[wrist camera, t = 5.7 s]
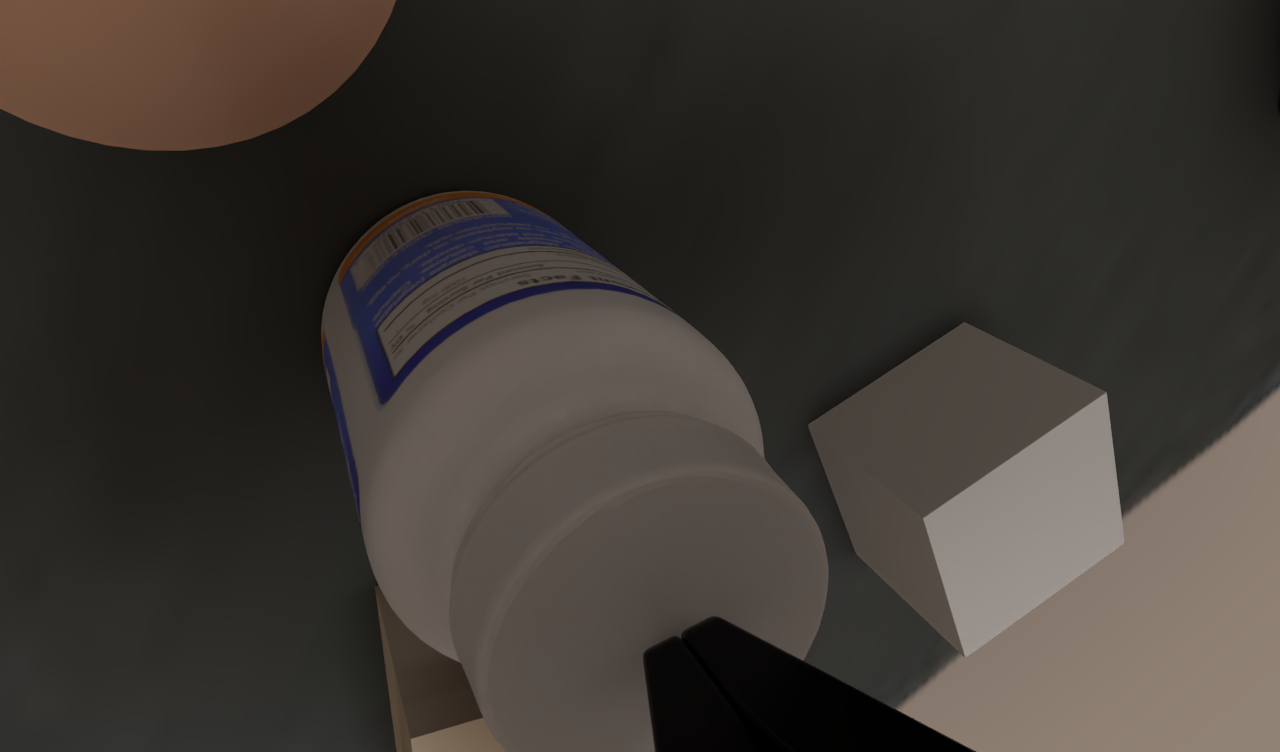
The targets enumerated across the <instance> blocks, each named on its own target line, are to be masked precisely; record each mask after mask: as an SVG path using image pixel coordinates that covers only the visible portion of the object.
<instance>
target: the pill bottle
mask: <svg viewBox="0 0 1280 752" xmlns="http://www.w3.org/2000/svg"><path fill="white" fill-rule="evenodd" d="M321 341H322V356H323V364H324V370H325V374H326V379H327V383H328V386H329V390H330V394H331V399H332V403H333V407H334V411H335V415H336V420H337V424H338V428H339V433H340V437H341V442H342V446H343V451H344V456H345V460H346V464H347V469H348V474H349V478H350V482H351V487H352V491H353V495H354V500H355V505H356V509H357V513H358V518H359V522H360V527H361V531H362V535H363V539H364V543H365V547H366V551H367V555H368V558H369V561H370V564H371V568H372V571H373V573H374V576H375V578H376V580H377V583H378V585H379V587H380V589H381V591H382V593H383V595H384V596H385V598H386V600H387V602H388V604H389V605H390V607H391V608H392V610H393V611H394V612H395V614H396V615H397V616H398V617H399V618H400V619H401V621H402V622H403V623H404V624H405V625H406V627H407V628H408V629H410V630H411V631H412V632H413V633H414V634H415V635H416V636H417V637H418V638H419V639H420V640H422V641H423V642H425V643H426V644H427V645H429V646H430V647H432V648H434V649H435V650H437V651H438V652H440V653H442V654H443V655H445V656H447V657H449V658H451V659H454V660H456V661H458V662H460V663H461V664H462V666H463V669H464V671H465V674H466V676H467V678H468V681H469V683H470V686H471V688H472V691H473V693H474V696H475V699H476V701H477V704H478V706H479V709H480V712H481V714H482V716H483V718H484V719H485V721H486V723H487V725H488V727H489V729H490V730H491V732H492V734H493V736H494V737H495V739H496V740H497V741H498V742H499V743H500V745H501V746H502V747H503V748H504V749H505V750H506V751H507V752H655V749H654V741H653V734H652V726H651V718H650V711H649V703H648V696H647V688H646V680H645V673H644V665H643V653H644V652H645V650H646V649H648V648H650V647H652V646H654V645H656V644H658V643H660V642H662V641H664V640H666V639H667V638H669V637H672V636H678V637H680V638H681V634H682V632H683V631H684V630H685V629H687V628H689V627H691V626H693V625H695V624H697V623H699V622H701V621H703V620H705V619H707V618H709V617H711V616H717V617H721V618H723V619H725V620H727V621H728V622H730V623H732V624H734V625H736V626H738V627H740V628H742V629H744V630H746V631H747V632H749V633H751V634H753V635H755V636H757V637H759V638H761V639H763V640H765V641H766V642H768V643H770V644H772V645H774V646H776V647H778V648H780V649H782V650H784V651H786V652H787V653H789V654H791V655H793V656H795V657H797V658H799V659H801V660H803V659H804V658H805V656H806V654H807V652H808V650H809V648H810V646H811V644H812V642H813V640H814V638H815V636H816V634H817V631H818V629H819V625H820V622H821V618H822V615H823V611H824V607H825V602H826V596H827V589H828V575H829V571H828V561H827V554H826V550H825V545H824V541H823V539H822V536H821V533H820V530H819V527H818V525H817V523H816V522H815V520H814V518H813V517H812V515H811V513H810V512H809V510H808V509H807V507H806V505H805V504H804V503H803V502H802V501H801V500H800V499H799V498H798V497H797V495H796V494H795V493H794V492H793V491H792V490H791V489H790V488H789V487H788V486H787V485H786V484H785V483H784V481H783V480H782V479H781V478H780V477H779V476H778V475H777V474H776V473H775V472H774V471H773V470H772V468H771V467H770V465H769V464H768V463H767V462H766V460H765V459H764V448H763V440H762V432H761V427H760V423H759V419H758V415H757V412H756V410H755V407H754V404H753V401H752V399H751V396H750V394H749V392H748V390H747V388H746V386H745V384H744V382H743V381H742V379H741V378H740V376H739V375H738V373H737V372H736V370H735V369H734V368H733V366H732V365H731V364H730V362H729V361H728V360H727V359H726V358H725V357H724V355H723V354H722V353H721V352H720V351H719V350H718V349H717V348H716V347H715V346H714V345H713V344H712V343H711V342H710V341H709V340H708V339H706V338H705V337H704V336H703V335H702V334H701V333H700V332H699V331H697V330H696V329H695V328H694V327H692V326H691V325H690V324H689V323H688V322H686V321H685V320H684V319H683V318H681V317H680V316H679V315H678V314H676V313H675V312H674V311H673V310H671V309H670V308H669V307H668V306H666V305H664V304H663V303H662V302H661V301H659V300H658V299H657V298H656V297H654V296H653V295H651V294H650V293H649V292H648V291H646V290H645V289H644V288H643V287H642V286H641V285H639V284H638V283H636V282H635V281H634V280H632V279H631V278H630V277H629V276H627V275H626V274H625V273H623V272H622V271H621V270H619V269H618V268H617V267H615V266H614V265H613V264H611V263H610V262H609V261H607V260H606V259H605V258H604V257H603V256H601V255H600V254H599V253H597V252H596V251H595V250H594V249H592V248H591V247H590V246H588V245H587V244H586V243H584V242H583V241H582V240H580V239H579V238H578V237H576V236H575V235H574V234H572V233H571V232H570V231H569V230H567V229H566V228H565V227H564V226H562V225H561V224H560V223H558V222H557V221H556V220H554V219H553V218H551V217H550V216H548V215H546V214H545V213H543V212H542V211H540V210H538V209H536V208H534V207H532V206H530V205H528V204H526V203H524V202H521V201H519V200H516V199H513V198H510V197H507V196H504V195H500V194H495V193H489V192H482V191H455V192H445V193H439V194H435V195H431V196H428V197H424V198H421V199H418V200H416V201H413V202H410V203H408V204H406V205H404V206H402V207H400V208H398V209H397V210H395V211H393V212H391V213H390V214H388V215H387V216H385V217H384V218H382V219H381V220H380V221H378V222H377V223H376V224H375V225H373V226H372V227H371V228H370V229H369V230H368V231H367V232H366V233H365V234H364V235H363V236H362V237H361V238H360V239H359V240H358V241H357V243H356V244H355V245H354V246H353V247H352V249H351V250H350V251H349V253H348V254H347V256H346V257H345V258H344V260H343V261H342V263H341V265H340V267H339V269H338V270H337V272H336V274H335V276H334V278H333V281H332V283H331V286H330V288H329V291H328V294H327V297H326V300H325V305H324V310H323V315H322V325H321Z"/></svg>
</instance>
